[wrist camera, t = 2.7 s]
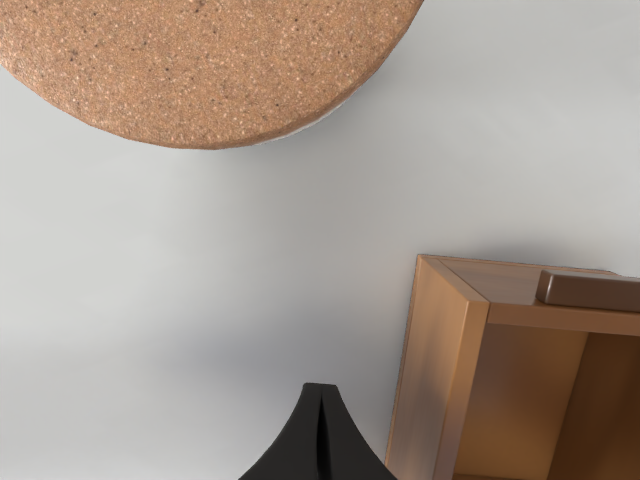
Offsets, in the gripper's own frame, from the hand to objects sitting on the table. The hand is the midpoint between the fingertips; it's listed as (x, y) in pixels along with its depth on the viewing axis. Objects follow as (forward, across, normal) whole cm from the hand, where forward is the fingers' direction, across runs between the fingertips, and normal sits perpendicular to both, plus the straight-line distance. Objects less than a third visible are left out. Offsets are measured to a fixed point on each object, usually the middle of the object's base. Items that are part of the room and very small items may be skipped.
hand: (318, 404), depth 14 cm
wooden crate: (+3, -8, 0) cm, 9 cm away
